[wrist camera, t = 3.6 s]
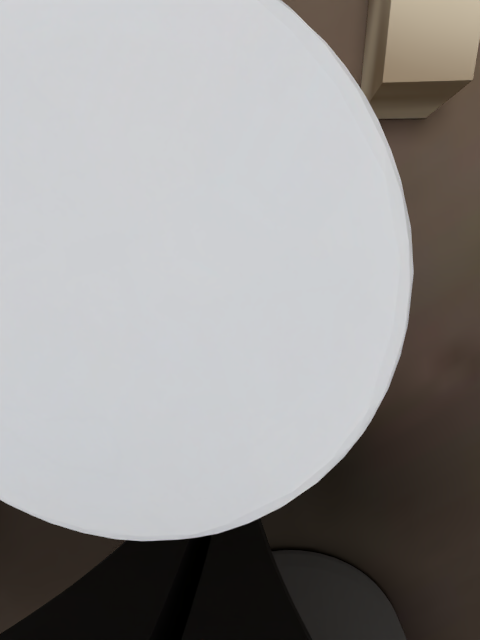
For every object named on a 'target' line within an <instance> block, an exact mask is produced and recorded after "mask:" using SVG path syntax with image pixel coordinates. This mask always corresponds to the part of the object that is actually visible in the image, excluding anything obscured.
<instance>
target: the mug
mask: <svg viewBox="0 0 480 640" xmlns="http://www.w3.org/2000/svg"><path fill="white" fill-rule="evenodd" d="M272 554H273V557H274V559H275V562H276V564H277V567H278V569H279V571H280V574H281V576H282V579H283V581H284V583H285V585H286V587H287V590H288V592H289V594H290V596H291V598H292V601H293V603H294V605H295V607H296V609H297V611H298V613H299V615H300V617H301V619H302V621H303V623H304V624H305V626H306V628H307V630H308V632H309V634H310V636H311V638H312V640H406V637H405V634H404V632H403V629H402V627H401V625H400V622H399V620H398V618H397V615H396V613H395V611H394V608H393V607H392V605H391V603H390V602H389V600H388V599H387V597H386V596H385V595H384V593H383V592H382V591H381V589H380V588H379V587H378V586H377V585H376V584H375V583H374V582H373V581H372V580H371V579H370V578H369V577H368V576H366V575H365V574H364V573H362V572H361V571H360V570H358V569H356V568H355V567H353V566H351V565H349V564H347V563H345V562H343V561H341V560H338V559H336V558H333V557H330V556H327V555H324V554H320V553H315V552H309V551H301V550H280V551H272Z"/></svg>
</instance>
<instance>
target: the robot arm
mask: <svg viewBox="0 0 480 640" xmlns="http://www.w3.org/2000/svg"><path fill="white" fill-rule="evenodd" d="M0 640H312V638H311V636H310V634H309V632H308V630H307V628H306V626H305V624H304V623H303V621H302V619H301V617H300V615H299V613H298V611H297V609H296V607H295V605H294V603H293V601H292V598H291V596H290V594H289V592H288V590H287V587H286V585H285V583H284V581H283V579H282V576H281V574H280V571H279V569H278V567H277V564H276V562H275V559H274V557H273V554H272V551H271V549H270V546H269V543H268V540H267V537H266V534H265V531H264V529H263V525H262V522H261V519H260V518H259V519H257V520H254V521H252V522H250V523H248V524H245V525H242V526H239V527H236V528H233V529H230V530H227V531H224V532H221V533H218V534H213V535H207V536H202V537H196V538H188V539H180V540H159V541H133V540H126V541H125V542H124V543H123V544H122V545H121V546H120V547H118V548H117V549H116V550H115V551H114V552H113V553H112V554H110V555H109V556H108V557H107V558H106V559H104V560H103V561H102V562H101V563H99V564H98V565H97V566H96V567H95V568H93V569H92V570H91V571H90V572H88V573H87V574H86V575H85V576H83V577H82V578H81V579H79V580H78V581H77V582H75V583H74V584H73V585H72V586H70V587H69V588H68V589H66V590H65V591H63V592H62V593H61V594H59V595H58V596H56V597H55V598H53V599H52V600H51V601H49V602H48V603H46V604H45V605H43V606H42V607H40V608H39V609H37V610H36V611H35V612H33V613H32V614H30V615H29V616H27V617H26V618H24V619H23V620H21V621H20V622H18V623H17V624H15V625H14V626H12V627H11V628H9V629H7V630H6V631H4V632H3V633H1V634H0Z"/></svg>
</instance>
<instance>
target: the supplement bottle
mask: <svg viewBox="0 0 480 640" xmlns="http://www.w3.org/2000/svg"><path fill="white" fill-rule="evenodd" d="M413 273H414V272H413V255H412V239H411V226H410V221H409V216H408V212H407V207H406V202H405V197H404V193H403V188H402V183H401V179H400V176H399V173H398V170H397V167H396V164H395V161H394V158H393V155H392V152H391V149H390V147H389V144H388V142H387V140H386V137H385V135H384V132H383V130H382V127H381V125H380V123H379V120H378V118H377V117H376V115H375V113H374V111H373V109H372V107H371V105H370V103H369V102H368V100H367V98H366V96H365V94H364V93H363V91H362V90H361V88H360V87H359V85H358V84H357V82H356V81H355V79H354V78H353V77H352V75H351V74H350V72H349V71H348V69H347V68H346V66H345V65H344V64H343V63H342V61H341V60H340V59H339V58H338V56H337V55H336V54H335V53H334V51H333V50H332V49H331V48H330V47H329V45H328V44H327V43H326V42H325V41H324V40H323V39H322V38H321V37H320V36H319V35H318V34H317V33H316V32H315V31H314V30H312V29H311V28H310V27H309V26H308V25H307V24H306V23H305V22H304V21H303V20H302V19H301V18H300V17H299V16H298V15H297V14H296V13H295V12H294V11H293V10H292V9H291V8H290V7H289V6H287V5H286V4H285V3H284V2H283V1H281V0H0V500H2V501H3V502H5V503H7V504H9V505H11V506H13V507H15V508H17V509H19V510H22V511H24V512H26V513H28V514H30V515H32V516H35V517H37V518H40V519H42V520H45V521H47V522H49V523H52V524H55V525H58V526H62V527H65V528H68V529H72V530H75V531H78V532H82V533H86V534H91V535H96V536H102V537H107V538H112V539H121V540H133V541H159V540H180V539H188V538H196V537H202V536H207V535H213V534H218V533H221V532H224V531H227V530H230V529H233V528H236V527H239V526H242V525H245V524H248V523H250V522H252V521H254V520H257V519H259V518H261V517H263V516H265V515H267V514H269V513H271V512H273V511H275V510H277V509H279V508H281V507H282V506H284V505H286V504H287V503H289V502H290V501H291V500H293V499H294V498H296V497H297V496H299V495H300V494H302V493H303V492H304V491H306V490H307V489H309V488H310V487H312V486H313V485H315V484H316V483H317V482H318V481H319V480H321V479H322V478H323V477H324V476H325V475H326V474H327V473H328V472H329V471H330V470H331V469H332V468H333V467H334V466H335V465H336V464H337V463H338V462H340V461H341V460H342V459H343V458H344V457H345V455H346V454H347V453H348V452H349V450H350V449H351V448H352V447H353V445H354V444H355V443H356V442H357V440H358V439H359V438H360V436H361V435H362V434H363V433H364V431H365V429H366V428H367V426H368V425H369V423H370V422H371V420H372V418H373V417H374V415H375V413H376V411H377V409H378V407H379V405H380V403H381V402H382V400H383V398H384V396H385V394H386V392H387V390H388V388H389V386H390V383H391V380H392V377H393V374H394V372H395V369H396V366H397V363H398V361H399V358H400V355H401V351H402V346H403V342H404V338H405V334H406V330H407V326H408V319H409V309H410V300H411V291H412V282H413Z"/></svg>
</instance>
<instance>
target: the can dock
mask: <svg viewBox="0 0 480 640" xmlns="http://www.w3.org/2000/svg"><path fill="white" fill-rule="evenodd" d="M479 39H480V0H369V5H368V15H367V26H366V37H365V47H364V58H363V69H362V80H361V90H362V91H363V93H364V94H365V96H366V98H367V100H368V102H369V103H370V105H371V107H372V109H373V111H374V113H375V115H376V117H377V118H378V119H406V118H427V117H428V116H429V115H430V114H431V113H433V112H434V111H435V110H436V109H438V108H439V107H440V106H441V105H443V104H444V103H445V102H446V101H447V100H449V99H450V98H451V97H452V96H454V95H455V94H456V93H457V92H459V91H460V90H461V89H462V88H463V87H465V86H466V85H467V84H468V83H470V82H471V81H472V80H473V75H474V69H475V63H476V57H477V51H478V45H479Z"/></svg>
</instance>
